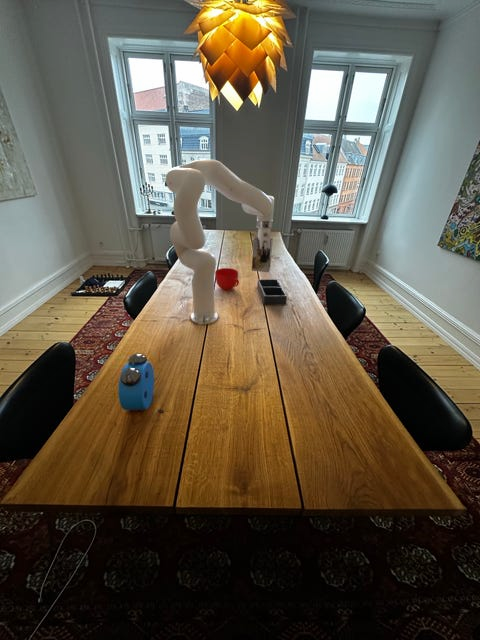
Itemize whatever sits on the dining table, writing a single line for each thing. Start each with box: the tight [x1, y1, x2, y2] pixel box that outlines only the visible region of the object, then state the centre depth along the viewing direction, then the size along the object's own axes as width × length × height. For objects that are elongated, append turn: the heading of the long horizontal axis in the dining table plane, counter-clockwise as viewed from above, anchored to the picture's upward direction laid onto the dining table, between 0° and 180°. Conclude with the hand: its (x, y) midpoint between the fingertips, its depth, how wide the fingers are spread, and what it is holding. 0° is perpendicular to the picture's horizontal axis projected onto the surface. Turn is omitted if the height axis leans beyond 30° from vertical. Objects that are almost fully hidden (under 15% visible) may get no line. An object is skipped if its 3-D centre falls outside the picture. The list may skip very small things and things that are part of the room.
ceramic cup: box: [214, 267, 240, 291], centre depth 145 cm, size 13×17×10 cm
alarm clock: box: [118, 352, 155, 413], centre depth 72 cm, size 13×6×15 cm, turn 4°
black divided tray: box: [256, 278, 288, 306], centre depth 141 cm, size 23×12×5 cm, turn 5°
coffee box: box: [251, 236, 274, 273], centre depth 131 cm, size 9×6×16 cm
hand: (261, 259), depth 132 cm, fingers closed on coffee box, 8 cm apart
